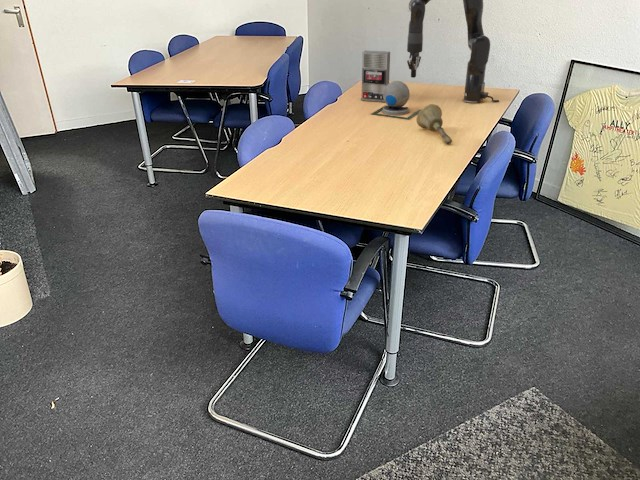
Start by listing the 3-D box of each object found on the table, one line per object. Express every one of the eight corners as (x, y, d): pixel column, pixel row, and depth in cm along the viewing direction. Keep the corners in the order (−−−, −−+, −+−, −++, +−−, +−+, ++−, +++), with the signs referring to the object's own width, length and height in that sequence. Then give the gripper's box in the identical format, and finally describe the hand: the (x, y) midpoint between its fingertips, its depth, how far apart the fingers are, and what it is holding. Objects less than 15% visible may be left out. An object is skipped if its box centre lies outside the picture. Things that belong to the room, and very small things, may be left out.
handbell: (428, 131, 246) (450, 159, 227) (410, 119, 240) (431, 146, 221) (445, 111, 241) (469, 137, 223) (428, 98, 235) (451, 123, 216)
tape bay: (422, 110, 269) (422, 110, 269) (408, 119, 256) (408, 118, 256) (385, 105, 278) (385, 105, 278) (371, 114, 265) (371, 113, 265)
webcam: (412, 110, 270) (414, 79, 262) (401, 116, 261) (403, 85, 253) (389, 106, 276) (390, 77, 269) (378, 113, 267) (378, 82, 260)
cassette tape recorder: (360, 100, 288) (361, 52, 276) (364, 97, 293) (365, 50, 281) (385, 102, 283) (387, 53, 271) (388, 99, 288) (390, 51, 276)
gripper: (417, 44, 259) (415, 80, 268) (427, 40, 269) (425, 75, 278) (402, 43, 263) (401, 79, 271) (413, 39, 273) (411, 74, 281)
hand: (413, 77), depth 274 cm, fingers closed
